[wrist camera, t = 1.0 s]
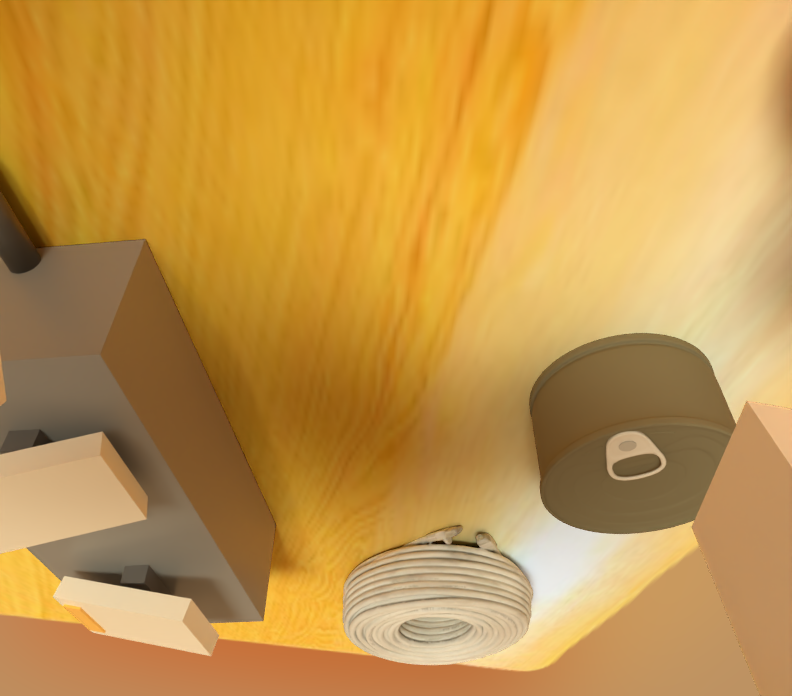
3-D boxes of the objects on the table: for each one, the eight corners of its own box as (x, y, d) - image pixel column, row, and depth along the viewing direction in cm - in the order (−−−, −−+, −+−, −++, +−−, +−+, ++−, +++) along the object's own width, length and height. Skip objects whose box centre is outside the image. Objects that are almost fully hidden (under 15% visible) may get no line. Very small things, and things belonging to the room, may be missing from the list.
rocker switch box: (-153, 156, 32) (-287, 291, 26) (96, 133, 31) (21, 267, 25) (136, 531, 58) (104, 643, 52) (275, 524, 57) (261, 637, 51)
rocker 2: (64, 575, 45) (51, 599, 44) (191, 599, 43) (181, 623, 42) (102, 612, 49) (91, 634, 48) (218, 635, 47) (210, 658, 46)
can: (556, 462, 51) (572, 549, 46) (500, 366, 43) (512, 459, 38) (727, 418, 47) (764, 509, 42) (700, 304, 39) (741, 399, 34)
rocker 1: (-91, 474, 32) (-100, 503, 31) (102, 431, 33) (99, 457, 32) (-22, 535, 37) (-28, 562, 36) (147, 496, 37) (146, 521, 36)
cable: (469, 511, 56) (474, 582, 52) (561, 585, 67) (572, 649, 63) (306, 566, 64) (300, 632, 60) (412, 625, 74) (413, 685, 70)
